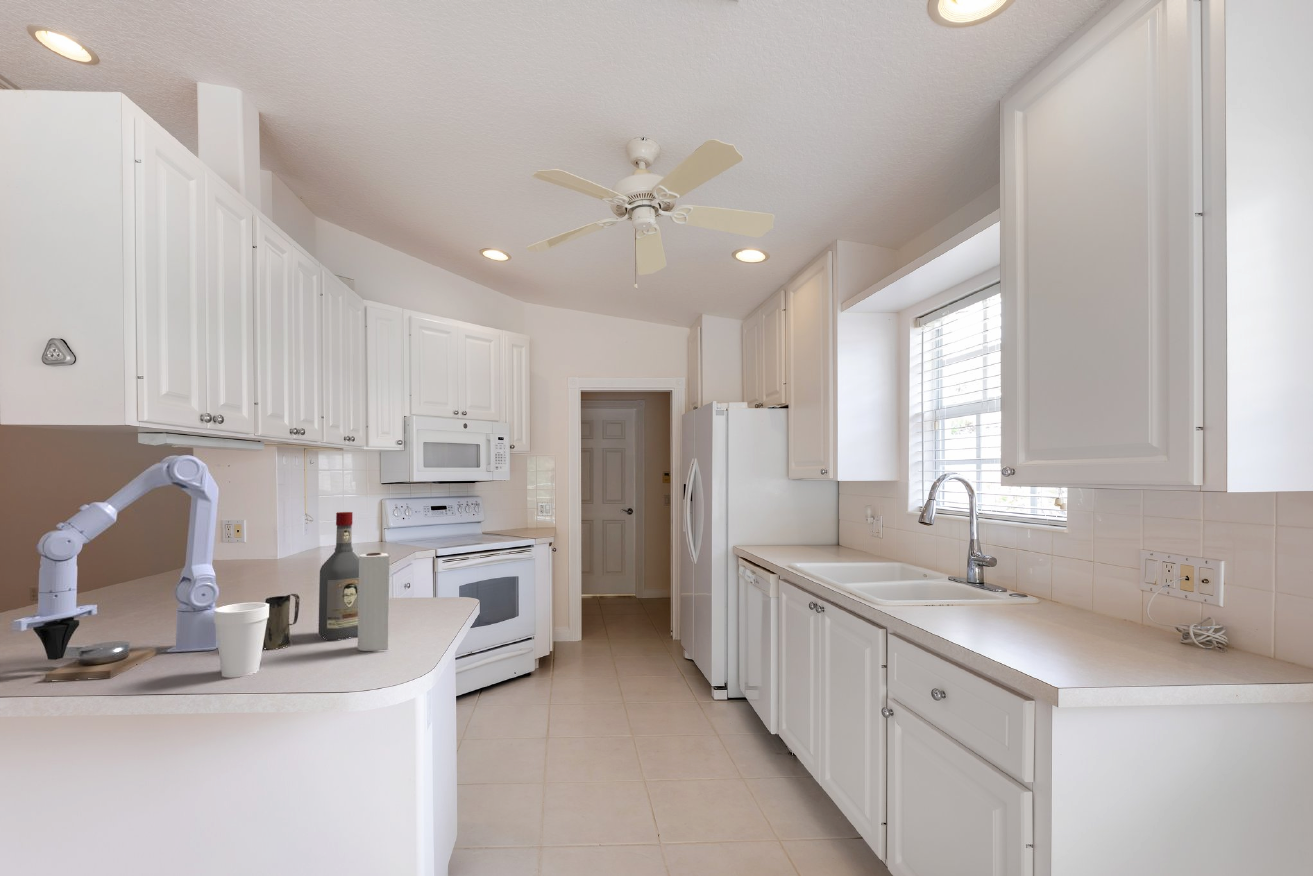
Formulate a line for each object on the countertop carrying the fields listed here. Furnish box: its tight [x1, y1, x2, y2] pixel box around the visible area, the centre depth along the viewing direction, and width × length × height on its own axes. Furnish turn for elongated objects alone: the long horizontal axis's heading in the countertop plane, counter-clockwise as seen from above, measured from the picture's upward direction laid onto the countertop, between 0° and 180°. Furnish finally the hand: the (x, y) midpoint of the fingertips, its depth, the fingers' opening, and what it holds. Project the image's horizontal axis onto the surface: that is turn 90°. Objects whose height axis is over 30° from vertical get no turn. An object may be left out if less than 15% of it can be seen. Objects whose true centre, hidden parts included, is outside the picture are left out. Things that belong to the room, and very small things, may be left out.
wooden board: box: [44, 647, 157, 682], centre depth 135 cm, size 11×16×2 cm
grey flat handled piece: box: [62, 640, 131, 665], centre depth 135 cm, size 15×8×3 cm, turn 86°
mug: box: [262, 593, 300, 650], centre depth 151 cm, size 8×6×12 cm
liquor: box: [318, 511, 359, 641], centre depth 161 cm, size 9×9×30 cm
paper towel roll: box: [357, 552, 391, 652], centre depth 149 cm, size 7×6×21 cm
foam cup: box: [214, 602, 269, 679], centre depth 132 cm, size 10×9×13 cm
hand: (55, 658), depth 131 cm, fingers closed
